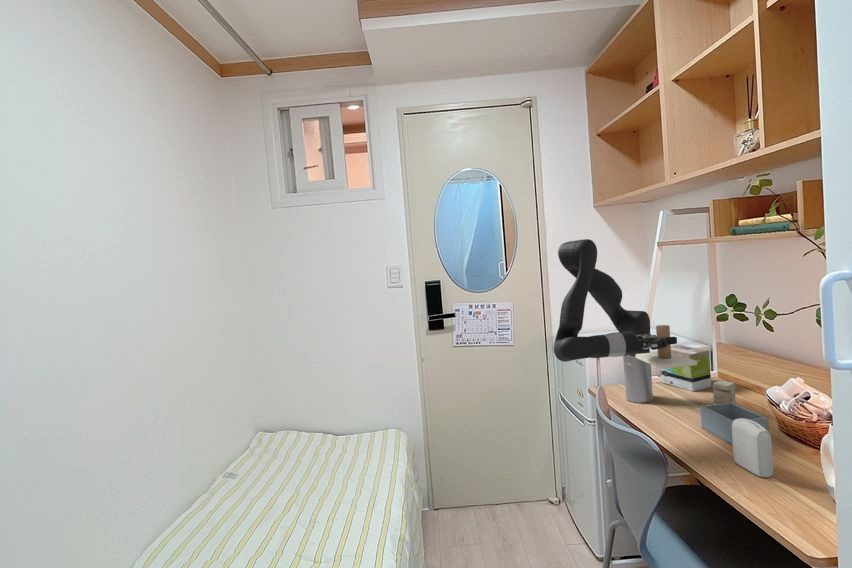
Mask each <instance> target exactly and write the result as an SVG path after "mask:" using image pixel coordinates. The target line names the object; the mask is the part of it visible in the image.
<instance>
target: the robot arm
mask: <svg viewBox="0 0 852 568" xmlns="http://www.w3.org/2000/svg"><path fill="white" fill-rule="evenodd" d="M557 256H558V259H559V262H560V263H561V265H562V267H564V269H566V271H567V272H569V273H570V274H571V275H572V276H573V277H574V278H575V281H574V282H573V284H572V285H571V288H570V289H569V290H568V292H567V293H566V295H565V296H564V298H563V301H562V302H561V303H562V304H561V308H560V315H559V324H558V329H557V331H556V335H555V339H554V342H553V343H554V344H553V353H554V356H555V357H556V359H558V360H559V361H560V362H572V361H577V360H583V359H590V358H591V359H603V358H618V357H620V358H621V357H622V358H623V372H624V375H623V376H624V386H625V398H626V399H625V400H627V401H628V400H629V401H628V402H630V403H638V404H639V403H641V404H643V403H650V402H652V401H654V395H653V394H654V393H653V381H652V378H653V375H652V365H651V364H649V363H647V362H644V361H642V360H640V359H637V358H636V356H635V355H636V354H642V353H651V350H652V351H654V350H655V351H656V350H657V349H660V348H665V347H667V345H671V346H672V345H678V344H677V343H678V337H676V336H670V337H665V338H664V337H662V338H657V334H651V318H650V316H649V314H648V312H646V311H643V310H627V309H625V308H624V307H623V306H622V305H621V304H622V300H623V299H622V298H623V290H622V288H621V287H620V285H619V284H618V282H616V280H615V279H614V278H613V277H612V276H611V275H609V274H607V273H606V272H604V271H602V270H599V269H598V268H596V265H597V261H598V260H597V259H598V248H597V245H596V243H595V242H594V241H593V240H592V239H589V238H588V239H587V238H585V239H578V240H570V241H569V240H568V241H565V242H563V243H561V245H560V246H559V247H558V250H557ZM588 293H589V294H590V296H591V297H592V298H593V299H594V301H595V302H596V304H598V305H599V306H600V307H601V309H602V310H603V311H604V312H605V314H606V315H607V316H608V317H609V320H610V321H611V322H612V324H613V325H614V327H615V329H616V330H617V332H609V333H605V334H597V335H590V336H578V335H579V333H580V332H581V330H582V328H583V324H584V317H585V316H584V314H585V308H586V301H587V297H588Z"/></svg>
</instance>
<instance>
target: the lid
mask: <svg viewBox="0 0 852 568" xmlns="http://www.w3.org/2000/svg"><path fill="white" fill-rule="evenodd" d="M655 330H656V336H657V338H662V337H664V338H665V337H671V328H670V325H669V324H659V325H655ZM671 346H672V344H671V345H667V347H665V348H660V349H656V350H657V351H654V352H650V353H642V354H636V355H635V356H636V358H637V359H640V360H642V361H644V362H647V363H649V364H651V366H654V367H657V368H659V369H660V370H661V369H664V368H674V367H683V366H693V365H697V361H695V360H692V359H690V358H687V357H684V356H681V355H678V354H675V353H672V352H671Z"/></svg>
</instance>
